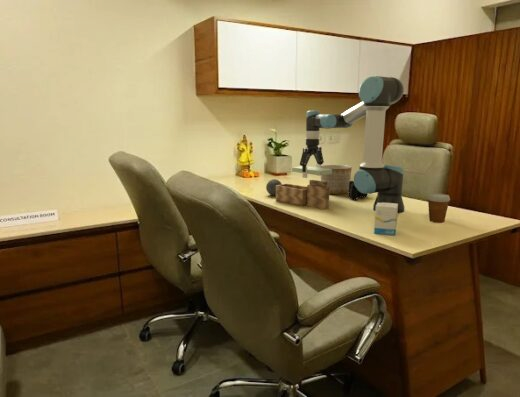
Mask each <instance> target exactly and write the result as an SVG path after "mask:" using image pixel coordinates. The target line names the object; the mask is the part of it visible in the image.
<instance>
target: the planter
mask: <svg viewBox="0 0 520 397" xmlns="http://www.w3.org/2000/svg"><path fill="white" fill-rule="evenodd" d="M321 168H326V169H332V174H326V175H320V181H325V182H327V187H329V195H331V196H332V195H334V196H335V195H336V196H342V195H347V194H349V183H350V181H351V177H352V169H353V167H352V165H346V164H326V165H323V164H322V165H321Z"/></svg>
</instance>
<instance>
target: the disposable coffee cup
mask: <svg viewBox="0 0 520 397" xmlns="http://www.w3.org/2000/svg"><path fill="white" fill-rule="evenodd" d="M426 199H427V200H428V201H427V202H428V203H427V204H428V220H429V222H432V223H435V224H436V223H437V224H442V223H445V221H446V216H447V211H448V207H449V203H450V201H451V198H450V194H445V193H429V194H428V195H427V196H426Z"/></svg>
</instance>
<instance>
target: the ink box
mask: <svg viewBox="0 0 520 397" xmlns="http://www.w3.org/2000/svg"><path fill="white" fill-rule="evenodd" d="M397 211H398V204H396V203H379V202H378V203H377V205H376V209H375V211H374V212H375V214H374V226H373V234H375V235H385V236H396V234H397V224H398V223H397V222H398V214H397Z"/></svg>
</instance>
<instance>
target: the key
mask: <svg viewBox="0 0 520 397" xmlns="http://www.w3.org/2000/svg"><path fill="white" fill-rule="evenodd" d="M308 182H309V183H308V185H315V186H321V187H327V182H325V181H321V180H317V179H309V181H308Z"/></svg>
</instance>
